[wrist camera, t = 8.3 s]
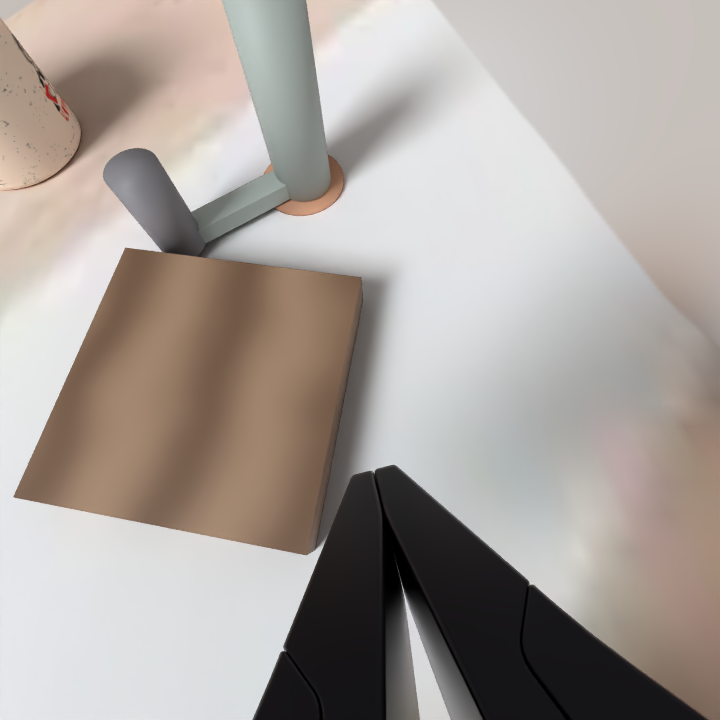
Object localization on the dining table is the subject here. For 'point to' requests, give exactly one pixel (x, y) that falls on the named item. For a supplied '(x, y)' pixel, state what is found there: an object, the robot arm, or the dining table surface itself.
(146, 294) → the stool seat
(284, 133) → the grey u-shaped piece
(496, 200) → the dining table surface
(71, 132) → the teacup with lid
